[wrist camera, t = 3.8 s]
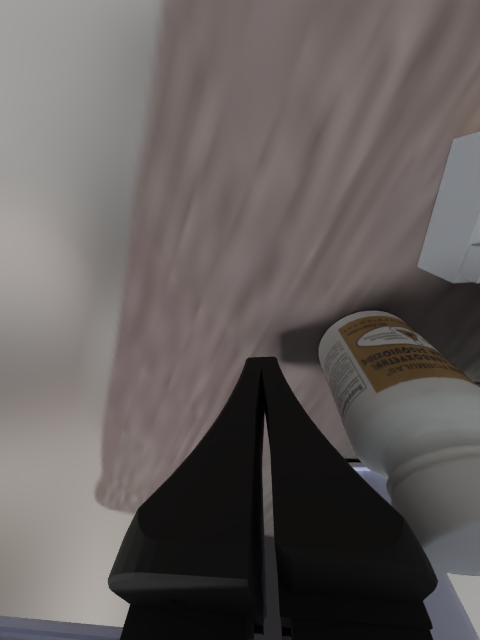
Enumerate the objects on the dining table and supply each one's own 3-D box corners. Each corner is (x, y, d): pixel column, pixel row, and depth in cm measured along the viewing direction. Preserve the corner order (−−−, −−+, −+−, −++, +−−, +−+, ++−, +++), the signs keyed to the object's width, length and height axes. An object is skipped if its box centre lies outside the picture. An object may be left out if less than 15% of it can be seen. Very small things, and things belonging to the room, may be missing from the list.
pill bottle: (424, 313, 10) (722, 527, 4) (383, 381, 13) (525, 592, 6) (331, 301, 10) (466, 493, 4) (307, 370, 13) (364, 571, 6)
